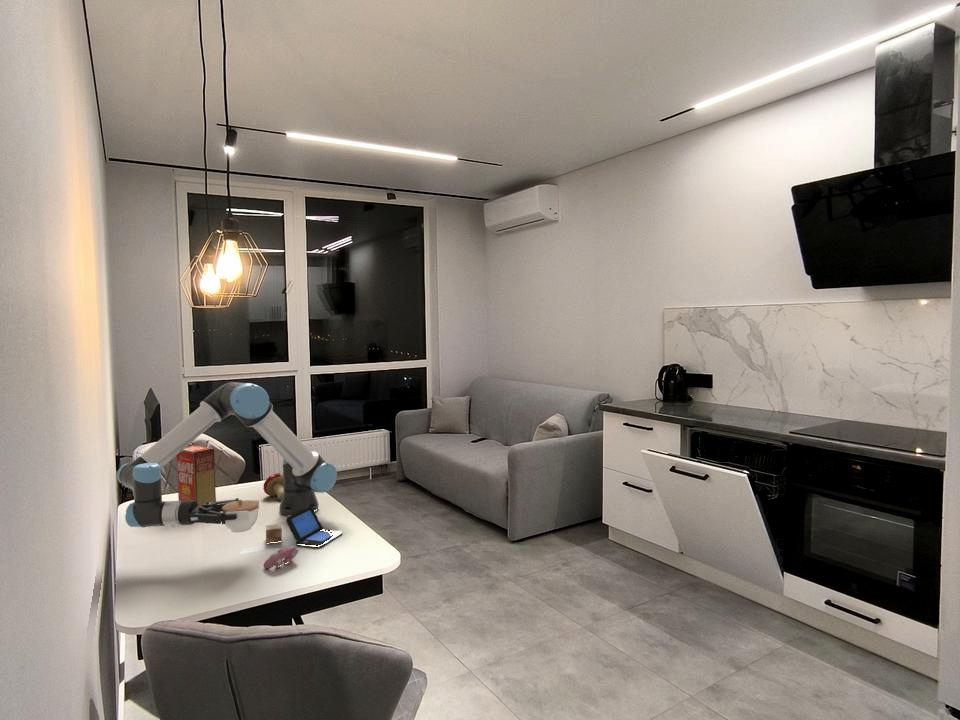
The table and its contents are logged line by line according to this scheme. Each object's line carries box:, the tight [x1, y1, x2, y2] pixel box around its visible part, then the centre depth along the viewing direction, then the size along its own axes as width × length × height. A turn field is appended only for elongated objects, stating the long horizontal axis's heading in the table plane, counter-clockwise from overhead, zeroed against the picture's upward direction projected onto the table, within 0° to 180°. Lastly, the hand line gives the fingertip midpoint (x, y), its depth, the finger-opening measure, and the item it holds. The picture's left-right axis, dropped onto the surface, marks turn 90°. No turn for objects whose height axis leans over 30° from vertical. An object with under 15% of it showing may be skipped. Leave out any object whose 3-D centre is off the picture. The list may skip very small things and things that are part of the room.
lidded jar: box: [222, 499, 259, 533], centre depth 186 cm, size 11×11×9 cm
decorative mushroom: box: [263, 472, 284, 501], centre depth 255 cm, size 11×11×15 cm
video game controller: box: [263, 545, 299, 570], centre depth 180 cm, size 10×5×7 cm, turn 149°
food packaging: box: [175, 445, 217, 506], centre depth 240 cm, size 13×9×25 cm
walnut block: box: [265, 523, 283, 543], centre depth 202 cm, size 5×5×5 cm
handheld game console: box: [285, 507, 333, 546], centre depth 203 cm, size 16×13×9 cm
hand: (253, 509), depth 186 cm, fingers closed on lidded jar, 11 cm apart
